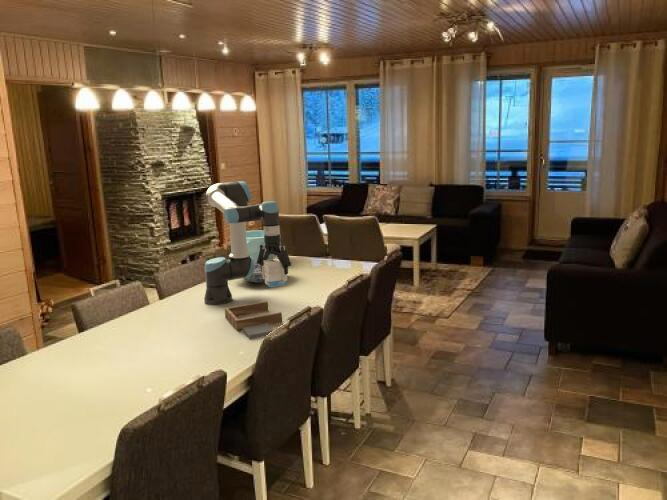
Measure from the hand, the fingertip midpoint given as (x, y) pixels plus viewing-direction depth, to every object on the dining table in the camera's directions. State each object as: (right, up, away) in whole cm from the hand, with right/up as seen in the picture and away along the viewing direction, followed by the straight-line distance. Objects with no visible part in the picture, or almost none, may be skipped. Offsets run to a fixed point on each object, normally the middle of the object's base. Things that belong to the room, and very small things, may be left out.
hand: (275, 279), depth 269 cm
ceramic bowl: (-16, -6, +81) cm, 83 cm away
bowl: (-25, +3, +128) cm, 130 cm away
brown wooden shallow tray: (-11, -20, +6) cm, 24 cm away
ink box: (0, -2, 0) cm, 2 cm away
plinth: (-6, -24, -12) cm, 27 cm away
